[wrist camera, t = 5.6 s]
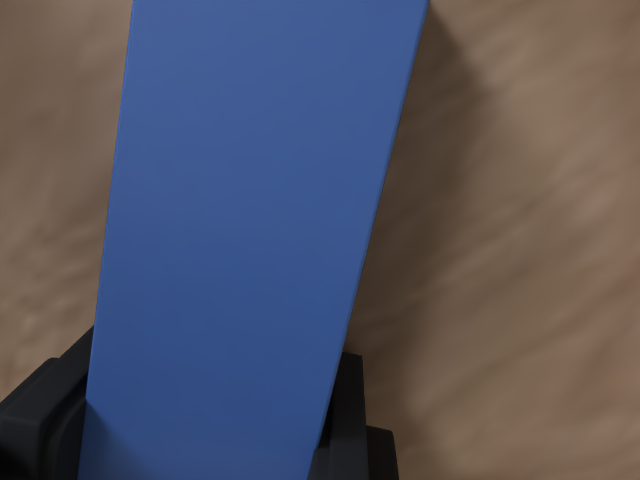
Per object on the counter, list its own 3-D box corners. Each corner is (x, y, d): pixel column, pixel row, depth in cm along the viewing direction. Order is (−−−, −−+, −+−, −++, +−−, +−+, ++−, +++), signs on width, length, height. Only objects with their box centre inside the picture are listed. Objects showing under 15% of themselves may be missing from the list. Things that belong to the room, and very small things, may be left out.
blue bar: (414, -24, 9) (450, -80, 6) (238, 711, 13) (205, 900, 10) (216, -69, 9) (148, -149, 6) (102, 682, 13) (28, 864, 10)
